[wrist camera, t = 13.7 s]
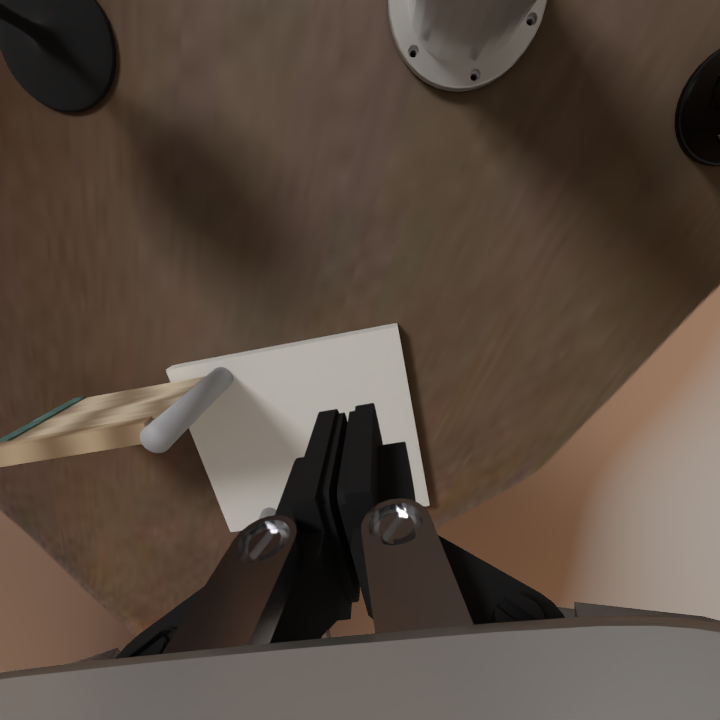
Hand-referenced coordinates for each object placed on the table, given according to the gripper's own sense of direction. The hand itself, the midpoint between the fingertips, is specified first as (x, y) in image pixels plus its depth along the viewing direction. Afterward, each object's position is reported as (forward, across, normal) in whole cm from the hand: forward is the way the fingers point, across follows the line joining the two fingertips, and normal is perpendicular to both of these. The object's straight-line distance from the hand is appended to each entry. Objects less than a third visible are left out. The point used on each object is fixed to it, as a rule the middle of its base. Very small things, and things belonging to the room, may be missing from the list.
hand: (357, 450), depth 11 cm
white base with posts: (+29, +11, +15) cm, 35 cm away
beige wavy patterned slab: (+27, +27, +5) cm, 39 cm away
